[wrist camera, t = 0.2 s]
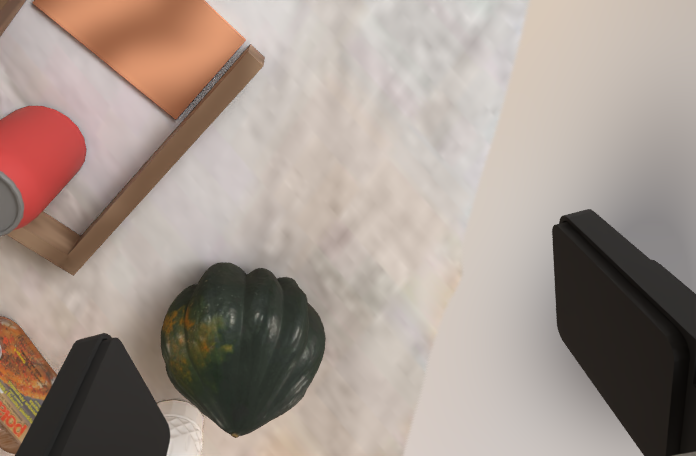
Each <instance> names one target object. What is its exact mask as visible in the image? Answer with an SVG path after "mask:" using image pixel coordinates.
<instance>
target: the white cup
mask: <svg viewBox="0 0 696 456" xmlns="http://www.w3.org/2000/svg"><path fill="white" fill-rule="evenodd" d="M157 405H158V407H159V408H160V410H161V412H162V414H163V415H164V417H165V419H166V421H167V423H168V425H169V428H170V443H169V447H168V451H167V456H202V445H203V439H202V435H203V419H204V417H203V416H202V414H201V413H200V411H199V410H198V409H197V408H196V407H195V406H193V405H191V404H189V403H188V402H184V401H178V400H169V401H162V402H159V403H157Z"/></svg>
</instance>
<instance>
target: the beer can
mask: <svg viewBox="0 0 696 456" xmlns="http://www.w3.org/2000/svg"><path fill="white" fill-rule="evenodd" d="M85 156H86V146H85V141H84V137H83V136H82V134H81V132H80V130H79V128H78V127H77V126H76V125H75V124H74V123H73V122H72V121H71V120H70V119H69V118H68V117H67V116H65V115H63V114H62V113H60V112H58V111H57V110H54V109H51V108H47V107H44V106H27V107H24V108H21V109H18V110H16V111H14V112H12V113H11V114H9V115H8V116H6V117H4V118H3V119H1V120H0V236H3V235H6V234H9V233H10V232H11V231H13V230H16V229H19V228H22V227H24V226H26V225H27V224H29V223H30V222H31V221H33V220H34V219H35V218H37V217H38V215H39V214H40V213H41V212H42V211H43V210H44V209H45V208H46V207H47V205H48V204H49V203H50V202H51V201H52V200H53V199H54V198H55V197H56V195H57V194H58V193H59V192H60V191H61V190H62V189H63V188H64V187H65V185H66V184H67V183H68V182H69V181H70V180H71V179H72V178H73V177H74V175H75V174H76V173H77V172H78V171H79V170H80V168H81V166H82V165H83V163H84V161H85Z"/></svg>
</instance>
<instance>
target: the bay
mask: <svg viewBox="0 0 696 456" xmlns="http://www.w3.org/2000/svg"><path fill="white" fill-rule="evenodd" d="M25 1H26V0H0V36H1V35H2V33H3V32H4V31H5V29H6V28H7V26H8V25H9V24H10V22H11V21H12V19H13V18H14V17H15V15H16V14H17V12H18V11H19V10H20V8H21V7H22V5H23V4H24V3H25ZM33 4H34V5H35V6H37V7H38V8H39V9H40V10H42V11H43V12H44V13H45V14H46V15H48V16H49V17H50V18H51V19H53V20H54V21H55V22H56V23H57V24H59V25H60V26H61V27H62V28H64V29H65V30H66V31H67V32H69V33H70V34H71V35H72V36H73V37H75V38H76V39H77V40H78V41H80V42H81V43H82V44H83V45H85V46H86V47H87V48H88V49H89V50H91V51H92V52H93V53H94V54H96V55H97V56H98V57H99V58H100V59H102V60H103V61H104V62H105V63H107V64H108V65H109V66H110V67H112V68H113V69H114V70H115V71H116V72H118V73H119V74H120V75H121V76H123V77H124V78H125V79H126V80H128V81H129V82H130V83H131V84H132V85H134V86H135V87H136V88H137V89H139V90H140V91H141V92H142V93H143V94H145V95H146V96H147V97H148V98H150V99H151V100H152V101H153V102H155V103H156V104H157V105H158V106H159V107H161V108H162V109H163V110H164V111H166V112H167V113H168V114H169V115H171V116H172V117H173V118H174V119H175V120H176V119H177V118H178V117H179V116H180V115H181V113H182V112H183V111H184V110H185V109H186V108H187V107H188V105H189V104H190V103H191V102H192V101H193V100H194V99H195V97H196V96H197V95H198V94H199V93H200V92H201V91H202V90H203V88H204V87H205V86H206V85H207V84H208V83H209V82H210V80H211V79H212V78H213V77H214V76H215V75H216V74H217V72H218V71H219V70H220V69H221V68H222V67H223V66H224V64H225V63H226V62H227V61H228V60H229V59H230V58H231V57H232V55H233V54H234V53H235V52H236V51H237V50H238V49H239V47H240V46H241V45H242V44H243V43H244V42H245V41H246V39H245V38H244V37H243V36H241V35H240V34H239V33H238V32H237V31H236V30H235V29H234V28H233V27H232V26H231V25H230V24H229V23H228V22H227V21H226V20H225V19H224V18H222V17H221V16H220V15H219V14H218V13H217V12H216V11H215V10H214V9H213V8H212V7H211V6H210V5H209V4H208V3H207V2H206V1H205V0H34V1H33ZM264 59H265V57H264V56H263V55H261V54H260V53H259V52H258V51H257V50H256V49H255V48H254V47H253V46H252V45H251V44H250V45H249V47H248V48H247V49H246V50H245V51H244V52H243V53H242V55H241V56H240V57H239V58H238V59H237V60H236V61H235V62H234V64H233V65H232V66H231V67H230V68H229V69H228V70H227V72H226V73H225V74H224V75H223V76H222V77H221V78H220V79H219V81H218V82H217V83H216V84H215V85H214V86H213V87H212V88H211V90H210V91H209V92H208V93H207V94H206V95H205V96H204V98H203V99H202V100H201V101H200V102H199V103H198V104H197V105H196V107H195V108H194V109H193V110H192V111H191V112H190V113H189V114H188V116H187V117H186V118H185V119H184V120H183V121H182V122H181V124H180V125H179V126H178V127H177V128H176V129H175V130H174V131H173V133H172V134H171V135H170V136H169V137H168V138H167V139H166V141H165V142H164V143H163V144H162V145H161V146H160V147H159V148H158V150H157V151H156V152H155V153H154V154H153V155H152V156H151V157H150V159H149V160H148V161H147V162H146V163H145V164H144V165H143V167H142V168H141V169H140V170H139V171H138V172H137V173H136V174H135V176H134V177H133V178H132V179H131V180H130V181H129V182H128V183H127V185H126V186H125V187H124V188H123V189H122V190H121V191H120V193H119V194H118V195H117V196H116V197H115V198H114V199H113V200H112V202H111V203H110V204H109V205H108V206H107V207H106V208H105V210H104V211H103V212H102V213H101V214H100V215H99V216H98V217H97V219H96V220H95V221H94V222H93V223H92V224H91V225H90V226H89V228H88V229H87V230H86V231H85V232H84V233H83V234H82V236H80V235H79V234H77V233H75V232H74V231H72V230H71V229H69V228H68V227H66V226H65V225H63V224H62V223H60V222H59V221H57V220H55V219H54V218H52V217H51V216H49V215H48V214H46V213H45V212H43V211H42V212H41V213H40V214H39V215H38V217H37V218H35V219H34V220H33V221H31V222H30V223H29V224H27V225H26V226H24V227H22V228H19V229H16V230H13V231H11V232H10V233H9V234H6V235H8V236H10V237H11V238H13V239H14V240H16V241H18V242H19V243H21V244H23V245H24V246H26V247H27V248H29V249H31V250H32V251H34V252H36V253H37V254H39V255H40V256H42V257H44V258H45V259H47V260H49V261H50V262H52V263H53V264H55V265H57V266H58V267H60V268H62V269H63V270H65V271H67V272H68V273H70V274H71V275H73V276H74V275H75V273H76V272H77V271H78V270H79V269H80V268H81V267H82V266H83V265H84V263H85V262H86V261H87V260H88V259H89V258H90V257H91V256H92V255H93V254H94V252H95V251H96V250H97V249H98V248H99V247H100V246H101V245H102V244H103V243H104V241H105V240H106V239H107V238H108V237H109V236H110V235H111V234H112V233H113V231H114V230H115V229H116V228H117V227H118V226H119V225H120V224H121V223H122V222H123V220H124V219H125V218H126V217H127V216H128V215H129V214H130V213H131V212H132V210H133V209H134V208H135V207H136V206H137V205H138V204H139V203H140V202H141V201H142V199H143V198H144V197H145V196H146V195H147V194H148V193H149V192H150V191H151V190H152V188H153V187H154V186H155V185H156V184H157V183H158V182H159V181H160V180H161V178H162V177H163V176H164V175H165V174H166V173H167V172H168V171H169V170H170V169H171V167H172V166H173V165H174V164H175V163H176V162H177V161H178V160H179V159H180V157H181V156H182V155H183V154H184V153H185V152H186V151H187V150H188V149H189V148H190V146H191V145H192V144H193V143H194V142H195V141H196V140H197V139H198V138H199V137H200V135H201V134H202V133H203V132H204V131H205V130H206V129H207V128H208V127H209V125H210V124H211V123H212V122H213V121H214V120H215V119H216V118H217V117H218V116H219V114H220V113H221V112H222V111H223V110H224V109H225V108H226V107H227V106H228V104H229V103H230V102H231V101H232V100H233V99H234V98H235V97H236V96H237V95H238V93H239V92H240V91H241V90H242V89H243V88H244V87H245V86H246V85H247V84H248V82H249V81H250V80H251V79H252V78H253V77H254V76H255V75H256V74H257V72H258V71H259V70H260V69H261V68H262V67H263V65H264Z"/></svg>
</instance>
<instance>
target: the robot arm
mask: <svg viewBox="0 0 696 456" xmlns="http://www.w3.org/2000/svg"><path fill="white" fill-rule="evenodd" d="M552 235H553V255H554V274H555V294H556V313H557V327H558V330H559V333H560V336H561V338H562V340H563V342H564V343H565V345H566V346H567V347H568V349H569V350H570V352H571V353H572V355H573V356H574V357H575V359H576V360H577V362H578V363H579V364H580V366H581V367H582V369H583V370H584V371H585V373H586V374H587V376H588V377H589V378H590V380H591V381H592V383H593V384H594V385H595V387H596V388H597V390H598V391H599V393H600V394H601V395H602V397H603V398H604V400H605V401H606V403H607V404H608V405H609V407H610V408H611V410H612V411H613V412H614V414H615V415H616V417H617V418H618V419H619V421H620V422H621V424H622V425H623V426H624V428H625V429H626V431H627V432H628V434H629V435H630V436H631V438H632V439H633V441H634V442H635V443H636V445H637V446H638V448H639V449H640V450H641V452H642V453H643V455H644V456H696V294H695V293H694V292H692V291H691V290H690V289H689V288H688V287H687V286H685V285H684V284H683V283H682V282H681V281H679V280H678V279H677V278H676V277H675V276H674V275H672V274H671V273H670V272H669V271H668V270H666V269H665V268H664V267H663V266H662V265H661V264H659V263H657V262H656V261H654V260H650V259H649V258H648V257H647V256H646V255H644V254H643V253H642V252H641V251H640V250H638V249H637V248H636V247H635V246H634V245H633V244H631V243H630V242H629V241H628V240H627V239H626V238H624V237H623V236H622V235H621V234H620V233H618V232H617V231H616V230H615V229H614V228H613V227H611V226H610V225H609V224H608V223H607V222H606V221H604V220H603V219H602V218H601V217H599V215H597V214H596V213H595V212H594V211H592V210H591V209H588V210H583V211H579V212H576V213H572V214H568V215H564V216H562V217H561V218H560V222H559V224H557V225H554V226H553V229H552ZM169 443H170V428H169V425H168V423H167V421H166V419H165V417H164V415H163V414H162V412H161V410H160V408H159V407H158V405H157V403H156V401H155V400H154V398H153V396H152V394H151V393H150V391H149V389H148V387H147V386H146V384H145V382H144V381H143V379H142V377H141V375H140V374H139V372H138V370H137V368H136V367H135V365H134V363H133V361H132V360H131V358H130V356H129V354H128V353H127V351H126V349H125V347H124V346H123V344H122V342H121V341H120V340H119V339H118V338H111V336H110V335H108V334H105V333H103V334H99V335H95V336H91V337H87V338H84V339H80V340H77V341H76V342H75V343H74V345H73V347H72V349H71V350H70V352H69V354H68V356H67V358H66V360H65V362H64V364H63V366H62V367H61V369H60V371H59V373H58V375H57V377H56V379H55V381H54V383H53V384H52V386H51V388H50V390H49V392H48V394H47V396H46V398H45V400H44V401H43V403H42V405H41V407H40V409H39V411H38V413H37V415H36V417H35V418H34V420H33V422H32V424H31V426H30V428H29V430H28V432H27V434H26V436H25V437H24V439H23V441H22V443H21V445H20V447H19V449H18V451H17V453H16V454H15V456H167V451H168V447H169Z"/></svg>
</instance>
